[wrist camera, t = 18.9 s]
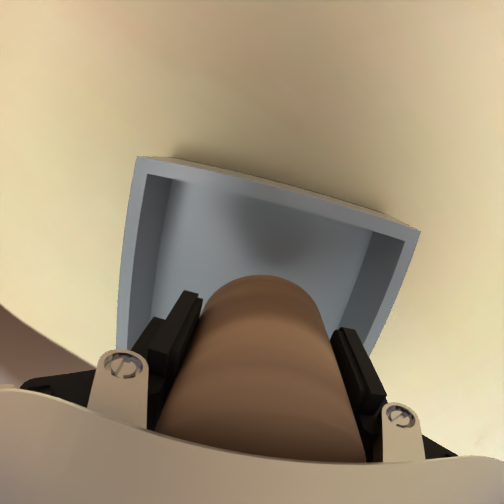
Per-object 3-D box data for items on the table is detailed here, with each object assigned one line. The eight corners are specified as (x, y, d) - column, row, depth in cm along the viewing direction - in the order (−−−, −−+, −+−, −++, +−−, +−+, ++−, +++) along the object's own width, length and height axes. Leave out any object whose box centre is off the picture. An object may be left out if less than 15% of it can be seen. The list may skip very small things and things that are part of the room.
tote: (169, 157, 21) (136, 156, 15) (383, 213, 21) (420, 231, 15) (139, 390, 27) (119, 431, 21) (295, 425, 27) (299, 471, 22)
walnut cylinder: (212, 260, 11) (149, 381, 5) (339, 291, 12) (407, 422, 5) (190, 364, 13) (146, 497, 6) (299, 388, 13) (315, 522, 6)
